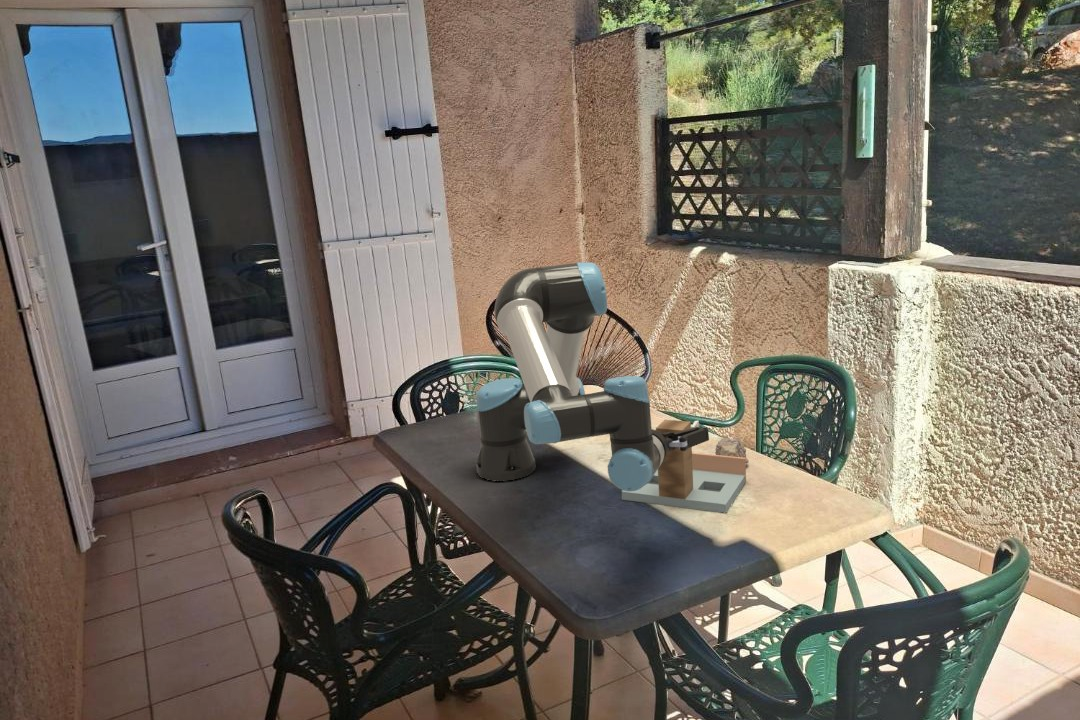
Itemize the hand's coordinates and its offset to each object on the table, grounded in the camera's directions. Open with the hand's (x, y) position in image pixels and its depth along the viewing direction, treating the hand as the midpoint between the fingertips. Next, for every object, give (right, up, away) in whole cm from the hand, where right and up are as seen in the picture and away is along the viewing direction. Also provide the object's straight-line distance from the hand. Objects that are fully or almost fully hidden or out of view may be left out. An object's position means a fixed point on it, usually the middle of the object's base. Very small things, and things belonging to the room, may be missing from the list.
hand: (665, 428), depth 174 cm
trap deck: (+6, -16, +14) cm, 22 cm away
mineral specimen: (+20, -12, +27) cm, 36 cm away
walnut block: (+4, -15, +9) cm, 18 cm away
